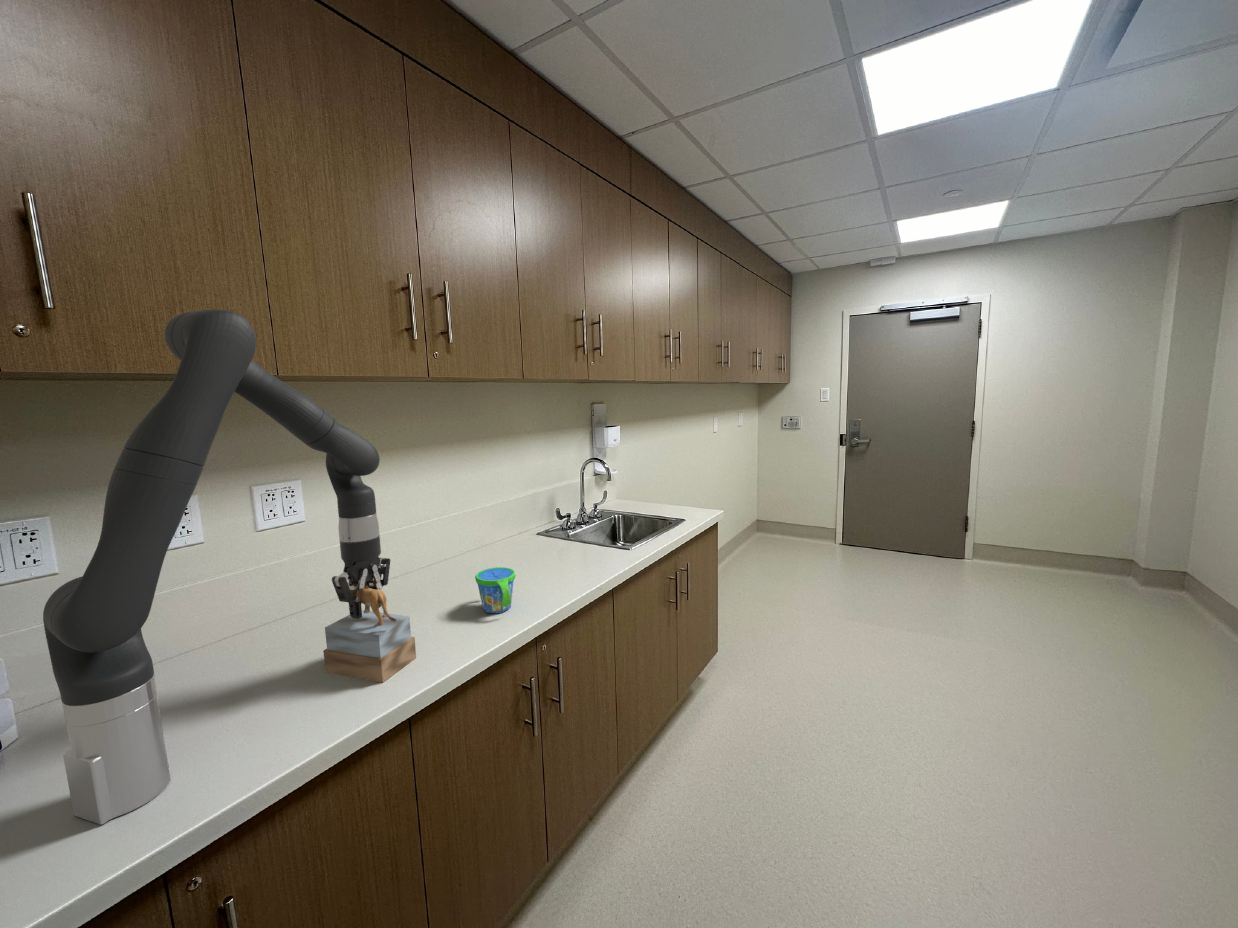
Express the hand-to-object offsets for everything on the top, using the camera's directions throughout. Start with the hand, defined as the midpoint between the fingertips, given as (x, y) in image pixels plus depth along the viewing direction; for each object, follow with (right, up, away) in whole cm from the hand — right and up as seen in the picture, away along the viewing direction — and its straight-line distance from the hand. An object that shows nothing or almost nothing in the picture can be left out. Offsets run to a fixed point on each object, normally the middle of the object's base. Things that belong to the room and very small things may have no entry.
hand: (366, 612), depth 105 cm
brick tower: (0, -12, +2) cm, 12 cm away
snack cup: (+21, -8, +30) cm, 37 cm away
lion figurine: (+1, -1, -1) cm, 2 cm away
